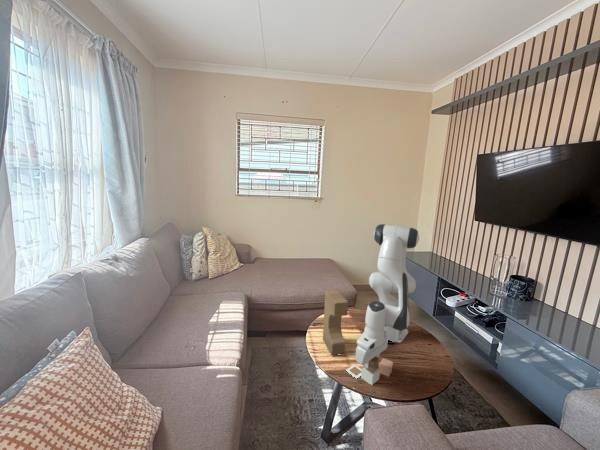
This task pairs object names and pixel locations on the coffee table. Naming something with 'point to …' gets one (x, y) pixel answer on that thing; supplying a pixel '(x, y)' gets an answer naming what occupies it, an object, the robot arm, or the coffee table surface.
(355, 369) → the card
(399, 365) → the coffee table surface
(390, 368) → the terracotta cube
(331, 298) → the decorative block
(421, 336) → the coffee table surface
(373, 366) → the walnut cube
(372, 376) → the base block
